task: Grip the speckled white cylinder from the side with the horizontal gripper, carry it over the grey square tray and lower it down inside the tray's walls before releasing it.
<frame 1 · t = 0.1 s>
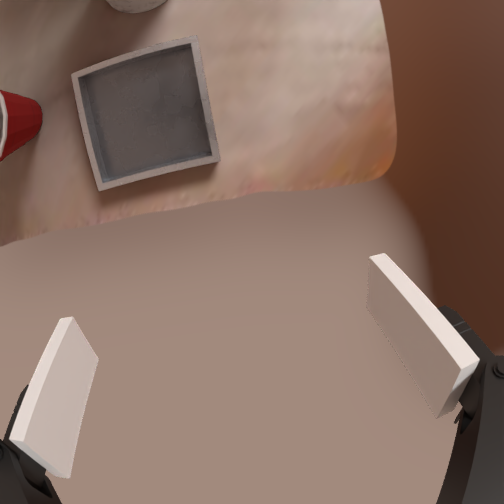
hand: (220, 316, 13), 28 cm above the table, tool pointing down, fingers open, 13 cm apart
plastic cup: (26, 118, 30), on the table
grey square tray: (147, 112, 33), on the table
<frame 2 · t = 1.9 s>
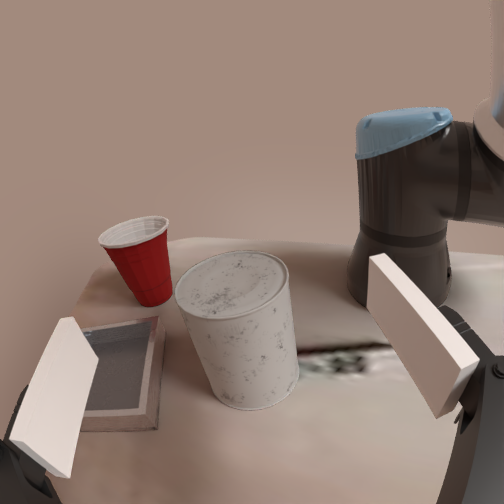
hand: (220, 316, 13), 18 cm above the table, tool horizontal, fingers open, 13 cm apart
speckled white cylinder: (254, 374, 32), on the table
plastic cup: (157, 296, 48), on the table
grey square tray: (106, 381, 32), on the table
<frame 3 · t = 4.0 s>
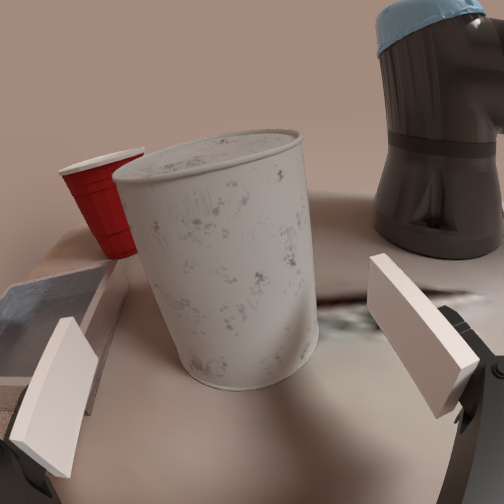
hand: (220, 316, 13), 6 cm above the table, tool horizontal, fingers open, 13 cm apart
speckled white cylinder: (247, 336, 21), on the table
plastic cup: (129, 248, 37), on the table
grey square tray: (42, 345, 22), on the table
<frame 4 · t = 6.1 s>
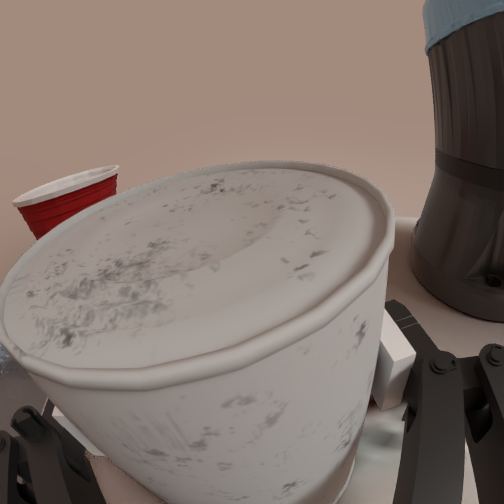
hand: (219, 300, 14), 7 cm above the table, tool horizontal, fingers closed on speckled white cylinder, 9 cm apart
speckled white cylinder: (256, 455, 13), on the table, touching gripper
plastic cup: (106, 290, 29), on the table
grey square tray: (5, 426, 14), on the table
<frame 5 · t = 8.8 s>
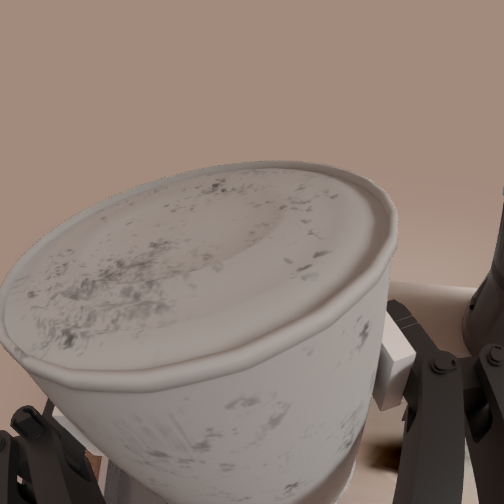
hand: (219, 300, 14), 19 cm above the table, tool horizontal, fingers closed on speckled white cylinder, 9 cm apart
speckled white cylinder: (257, 455, 13), point 13 cm above the table, touching gripper
grey square tray: (186, 494, 21), on the table
when the fingers open (9 cm above the table, at t = 11.8 s): speckled white cylinder drops 1 cm, resting on grey square tray.
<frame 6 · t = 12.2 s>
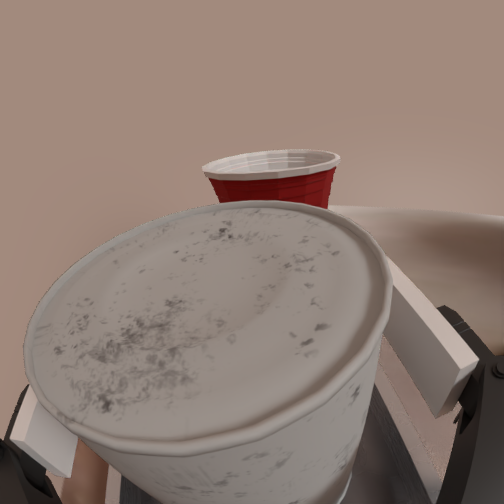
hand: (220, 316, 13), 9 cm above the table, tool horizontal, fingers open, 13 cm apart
speckled white cylinder: (260, 466, 14), resting on grey square tray
plastic cup: (288, 284, 29), on the table
grey square tray: (261, 467, 14), on the table
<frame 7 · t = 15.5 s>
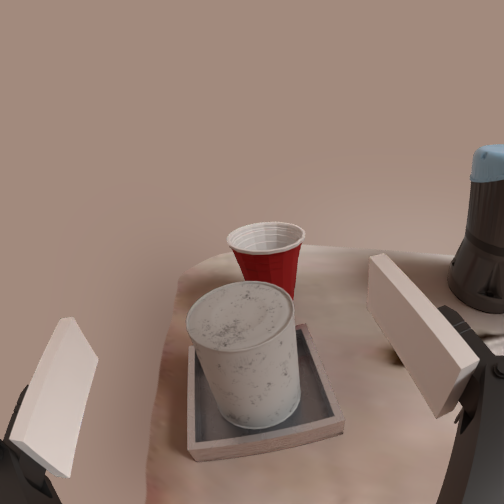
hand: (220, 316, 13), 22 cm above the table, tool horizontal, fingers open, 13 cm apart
speckled white cylinder: (258, 395, 33), resting on grey square tray
plastic cup: (275, 303, 48), on the table
grey square tray: (259, 396, 33), on the table
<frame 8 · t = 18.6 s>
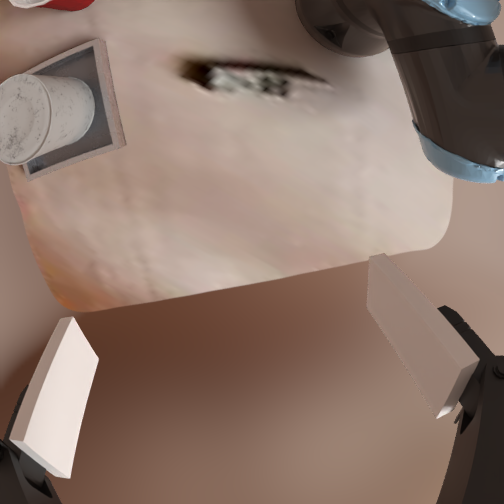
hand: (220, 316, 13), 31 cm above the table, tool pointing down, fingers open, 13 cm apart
speckled white cylinder: (64, 111, 33), resting on grey square tray
grey square tray: (65, 110, 33), on the table
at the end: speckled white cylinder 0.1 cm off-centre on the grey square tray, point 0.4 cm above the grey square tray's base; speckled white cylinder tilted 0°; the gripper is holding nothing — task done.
